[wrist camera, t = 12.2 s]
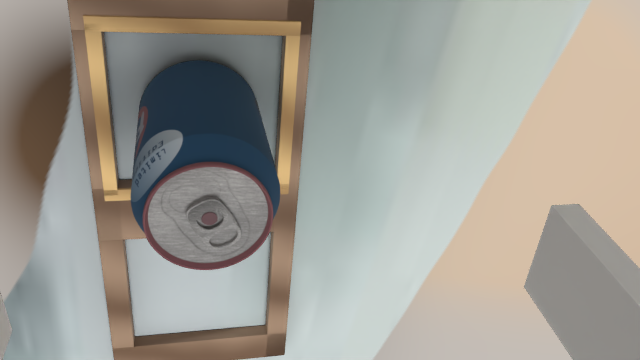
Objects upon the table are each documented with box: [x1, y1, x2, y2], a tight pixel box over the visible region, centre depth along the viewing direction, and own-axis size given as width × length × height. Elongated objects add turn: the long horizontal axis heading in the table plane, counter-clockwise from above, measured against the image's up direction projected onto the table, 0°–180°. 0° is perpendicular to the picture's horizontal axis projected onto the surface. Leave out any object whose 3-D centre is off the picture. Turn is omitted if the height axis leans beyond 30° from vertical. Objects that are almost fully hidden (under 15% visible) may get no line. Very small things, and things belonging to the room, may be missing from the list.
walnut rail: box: [67, 0, 314, 360], centre depth 39 cm, size 29×13×1 cm, turn 175°
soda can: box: [131, 60, 280, 270], centre depth 31 cm, size 7×7×12 cm
